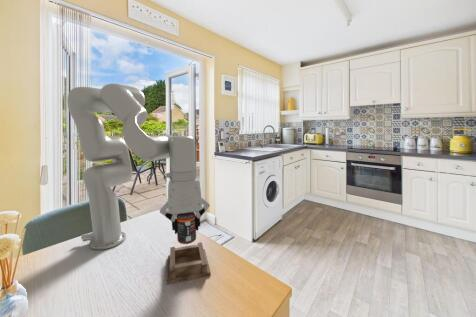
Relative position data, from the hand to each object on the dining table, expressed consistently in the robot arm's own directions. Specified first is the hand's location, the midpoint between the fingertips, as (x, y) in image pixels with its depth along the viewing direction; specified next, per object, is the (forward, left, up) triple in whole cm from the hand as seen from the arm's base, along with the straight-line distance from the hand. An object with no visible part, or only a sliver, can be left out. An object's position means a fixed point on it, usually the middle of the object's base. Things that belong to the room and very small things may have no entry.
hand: (186, 229), depth 68 cm
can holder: (0, 0, -13) cm, 13 cm away
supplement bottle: (0, 0, -4) cm, 4 cm away
